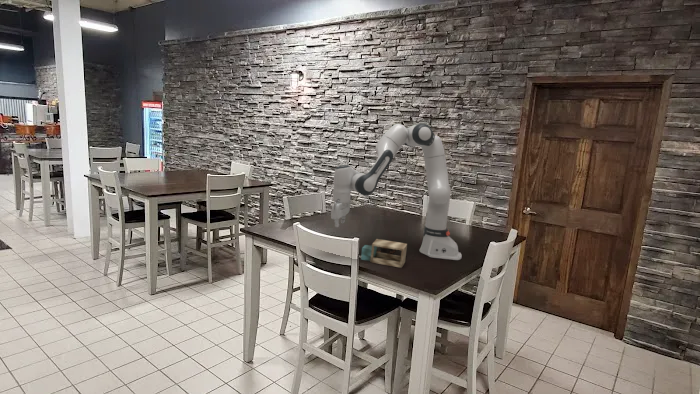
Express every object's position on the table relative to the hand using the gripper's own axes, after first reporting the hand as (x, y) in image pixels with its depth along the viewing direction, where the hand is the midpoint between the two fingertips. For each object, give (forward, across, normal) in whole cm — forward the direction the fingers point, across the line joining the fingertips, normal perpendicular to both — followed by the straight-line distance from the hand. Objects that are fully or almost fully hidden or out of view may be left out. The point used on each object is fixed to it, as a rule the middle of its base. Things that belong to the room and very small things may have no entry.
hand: (339, 224), depth 199 cm
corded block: (+15, 0, -10) cm, 18 cm away
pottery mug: (+16, +11, -23) cm, 30 cm away
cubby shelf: (+16, 0, -26) cm, 30 cm away
